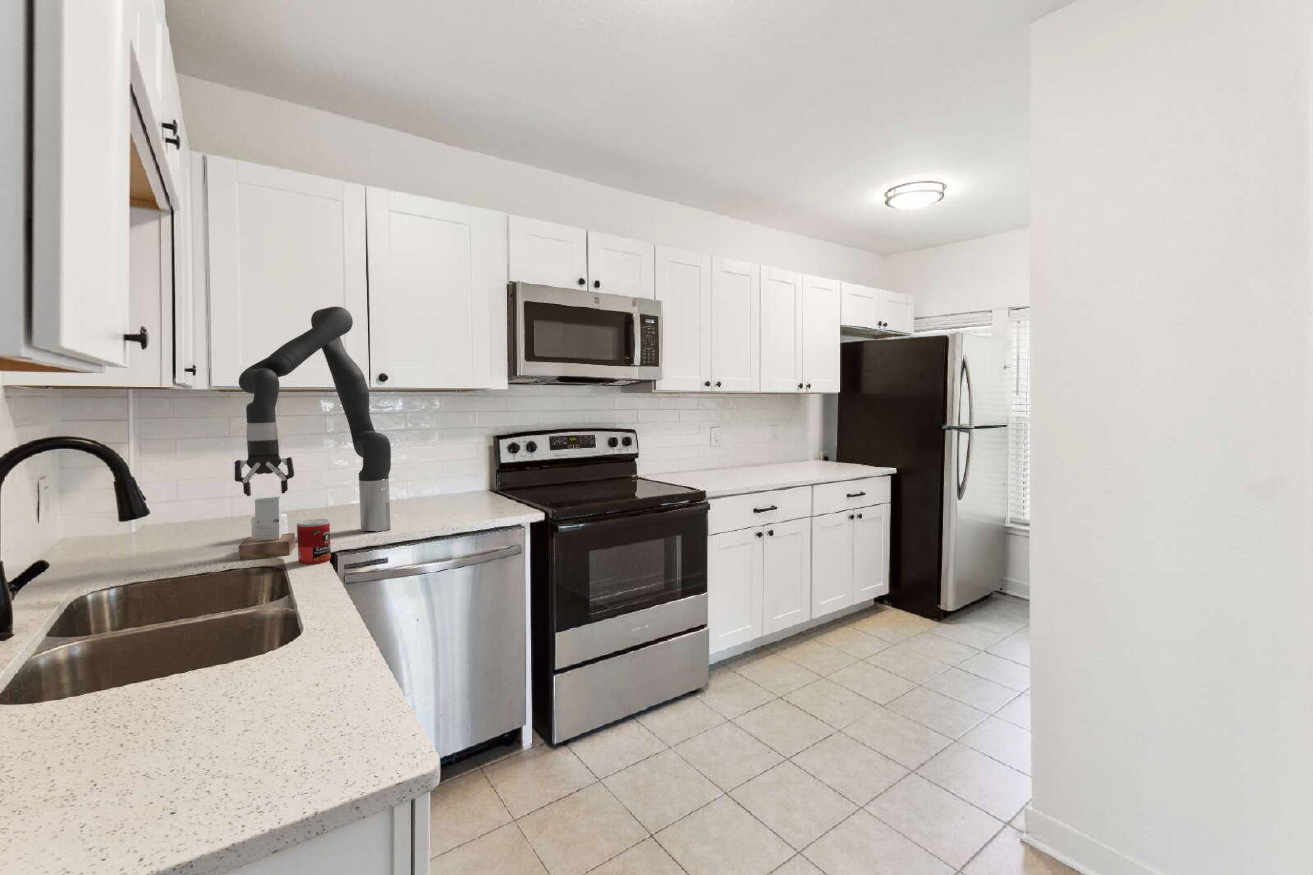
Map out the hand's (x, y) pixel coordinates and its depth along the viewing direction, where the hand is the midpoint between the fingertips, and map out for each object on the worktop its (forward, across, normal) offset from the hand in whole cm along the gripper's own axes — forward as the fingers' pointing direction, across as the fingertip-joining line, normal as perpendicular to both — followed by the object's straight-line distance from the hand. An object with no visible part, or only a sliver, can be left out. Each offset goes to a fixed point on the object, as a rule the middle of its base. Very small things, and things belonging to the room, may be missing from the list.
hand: (266, 494), depth 173 cm
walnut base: (+17, 0, 0) cm, 17 cm away
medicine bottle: (+17, +3, -23) cm, 29 cm away
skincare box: (+13, 0, 0) cm, 13 cm away
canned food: (+17, -13, +17) cm, 27 cm away
